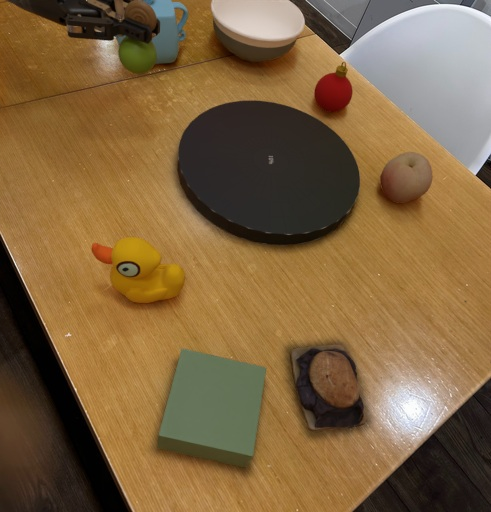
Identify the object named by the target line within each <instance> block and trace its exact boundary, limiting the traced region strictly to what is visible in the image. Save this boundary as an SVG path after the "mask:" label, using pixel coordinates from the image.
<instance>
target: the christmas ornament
mask: <svg viewBox="0 0 491 512" xmlns="http://www.w3.org/2000/svg"><path fill="white" fill-rule="evenodd" d="M348 71H349V70H348V67H347V63H346V61H342V62H341V64H340V65H337V66H336V69H335V72H330V73H327V74H325V75H323V76H322V77H321V78H319V80H318V81H317V83H316V84H315V87H314V92H313V94H314V95H313V96H314V101H315V103H316V104H317V106H318V107H319V108H320V109H321V110H323V111H324V112H327V113H338V112H342V111H343V110H344V109H346V107H348V105H349V104H350V102H351V100H352V98H353V86H352V83H351V81H350V80H349V78H348V77H347V74H348Z"/></svg>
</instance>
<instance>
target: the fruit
mask: <svg viewBox="0 0 491 512" xmlns="http://www.w3.org/2000/svg"><path fill="white" fill-rule="evenodd" d="M433 176H434V175H433V169H432V165H431V162H430V161H429V159H428V158H426V157H425V155H423V154H421V153H418V152H415V151H407V152H403V153H400V154H398V155H397V156H395V157H393V158H391V159H389V161H387V163H386V164H385V165H384V167H383V168H382V170H381V174H380V177H379V178H380V181H379V182H380V187H381V190H382V192H383V194H384V196H385V197H386V198H388V200H390V201H392V202H394V203H396V204H404V203H407V202H411V201H414V200H417V199H419V198H420V197H422V196H424V195H425V194H427V192H428V191H429V189H430V188H431V185H432V183H433Z"/></svg>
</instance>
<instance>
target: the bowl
mask: <svg viewBox="0 0 491 512" xmlns="http://www.w3.org/2000/svg"><path fill="white" fill-rule="evenodd" d="M210 10H211V14H212V27H213V30H214V32H215V35H216V37H217V39H218V41H219V42H220V43H221V45H222V46H223V47H225V49H227V51H229V52H230V53H231V54H234V55H235V57H237V58H239V59H241V60H243V61H246V62H249V63H263V62H269V61H273V60H277V59H278V58H281V57H283V56H285V55H286V54H288V52H289V51H291V50H292V49H293V47H294V46H295V44H296V42H297V41H298V38H299V36H300V34H301V33H302V32H303V31H304V29H305V26H306V19H305V16H304V14H303V13H302V11H301V9H300V8H299V7H298V6H297V5H296V4H295V3H294V2H292V1H290V0H211V3H210Z"/></svg>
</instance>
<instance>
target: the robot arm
mask: <svg viewBox="0 0 491 512" xmlns="http://www.w3.org/2000/svg"><path fill="white" fill-rule="evenodd" d="M5 1H6V2H8V3H10V4H13V5H14V6H16V7H17V8H19V9H21V10H23V11H25V12H29V13H30V14H34V15H36V16H38V17H40V18H43V19H46V20H47V21H51V22H53V23H55V24H57V25H60V26H63V27H66V32H67V36H68V37H69V38H71V39H72V38H74V39H82V40H83V39H84V40H93V41H94V40H95V41H107V42H112V41H114V40H115V37H114V36H116V35H117V36H120V37H123V36H128V37H130V38H133V39H135V40H138V41H140V42H144V43H147V44H148V43H150V42H151V41H152V33H155V34H156V36H157V35H158V34H159V33H160V21H159V20H158V19H157V23H156V27H155V29H154V30H153V31H152V28H151V27H150V26H148V25H145V24H143V23H140V22H138V21H135V20H133V19H130V18H127V19H125V17H124V16H122V15H120V14H118V13H116V9H115V2H114V0H5ZM122 1H123V6H124V10H125V8H126V6H127V5H128V4H129V3H130V2H132V1H134V0H122Z"/></svg>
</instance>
